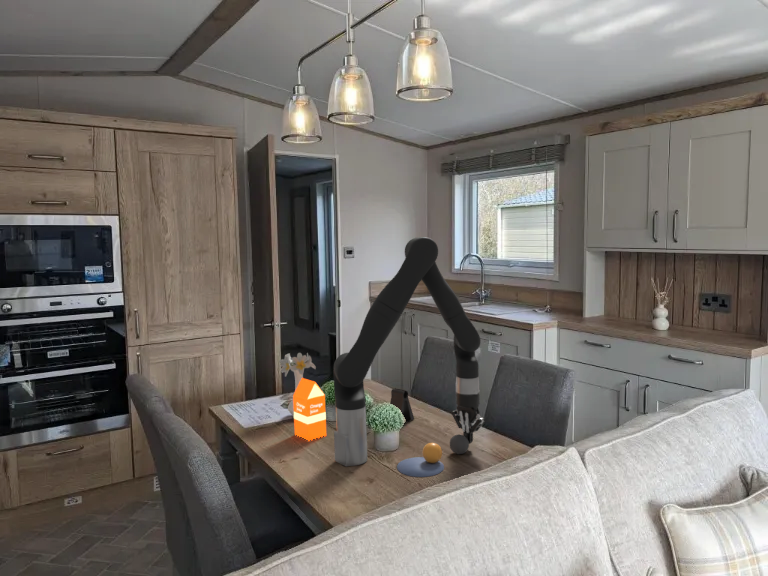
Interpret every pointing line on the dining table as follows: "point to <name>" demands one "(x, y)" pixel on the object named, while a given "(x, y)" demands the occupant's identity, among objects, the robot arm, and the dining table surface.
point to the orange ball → (432, 452)
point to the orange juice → (309, 410)
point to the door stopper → (402, 403)
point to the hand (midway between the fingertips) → (468, 442)
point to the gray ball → (459, 444)
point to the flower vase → (295, 370)
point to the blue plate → (419, 467)
